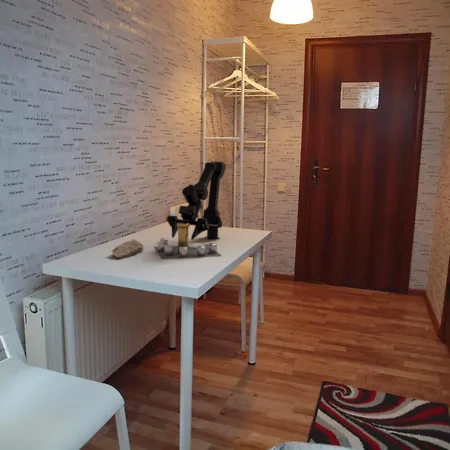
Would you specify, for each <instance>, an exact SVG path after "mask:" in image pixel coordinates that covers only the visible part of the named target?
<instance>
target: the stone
mask: <svg viewBox="0 0 450 450" xmlns="http://www.w3.org/2000/svg"><path fill="white" fill-rule="evenodd" d="M143 250H144V245H143V243H141V242H140V241H139V240H137V239H135V238H132V239H131V240H128V241H124V242H123V243H121V244H119V245H116V246H115V247H114V249H112V250H111V252H112V255H113V256H114V257H115V258H116V259H118V260H122V259H125V258H127V257H128V258H129V257H131V256H134V255H137V254H139V253H141V252H143ZM121 258H122V259H121Z"/></svg>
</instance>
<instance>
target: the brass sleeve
mask: <svg viewBox="0 0 450 450" xmlns="http://www.w3.org/2000/svg"><path fill="white" fill-rule="evenodd" d="M190 226H191V225H190V223H188V222H179V223H177V227H178V231H177V233H178V237H177V246H178V253H179V247H188V244H189V228H190Z"/></svg>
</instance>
